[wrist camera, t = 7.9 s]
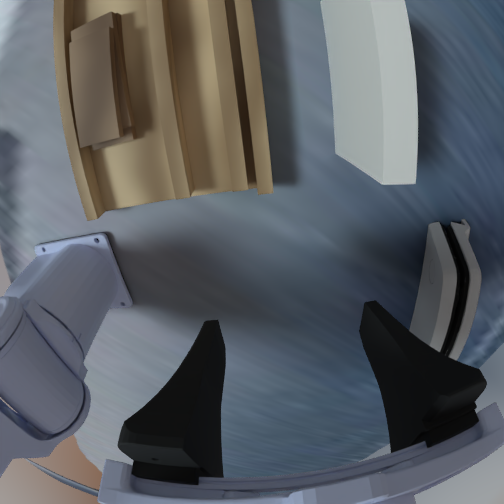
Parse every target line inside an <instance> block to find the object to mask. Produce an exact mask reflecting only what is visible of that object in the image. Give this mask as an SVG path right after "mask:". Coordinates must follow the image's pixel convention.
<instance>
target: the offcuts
mask: <svg viewBox="0 0 504 504" xmlns="http://www.w3.org/2000/svg"><path fill="white" fill-rule="evenodd" d="M71 39H72V42H71V43H69V52H70V71H71V84H72V94H73V103H74V111H75V118H76V125H77V131H78V137H79V143H80V148H82V147H86V146H89V145H92V148H93V151H94V150H98V149H101V148H104V147H108V146H111V145H115V144H118V143H122V142H126V141H129V140H133V139H136V138H137V136H136V130H135V122H134V117H133V113H132V107H131V101H130V94H129V87H128V80H127V72H126V64H125V55H124V45H123V34H122V20H121V14H119V13H114V12H112V11H111V12H109V13H107V14H104V15H102V16H100V17H98V18H96V19H94V20H92V21H90V22H88V23H86V24H84V25H82V26H80V27H78V28H77V29H75V30H73V31H71Z"/></svg>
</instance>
